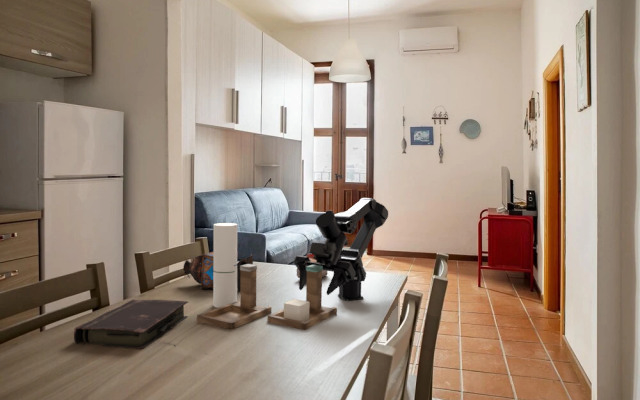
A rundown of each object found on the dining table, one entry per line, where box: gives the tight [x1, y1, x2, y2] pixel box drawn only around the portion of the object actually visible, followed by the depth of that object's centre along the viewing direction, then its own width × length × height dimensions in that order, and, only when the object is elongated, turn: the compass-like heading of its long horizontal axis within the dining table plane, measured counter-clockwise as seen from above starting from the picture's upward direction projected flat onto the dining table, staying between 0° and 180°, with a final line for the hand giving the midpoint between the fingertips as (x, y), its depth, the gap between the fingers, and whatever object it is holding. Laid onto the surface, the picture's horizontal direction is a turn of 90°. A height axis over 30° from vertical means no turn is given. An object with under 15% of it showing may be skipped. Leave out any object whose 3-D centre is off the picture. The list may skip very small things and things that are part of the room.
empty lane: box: [196, 264, 272, 330], centre depth 133 cm, size 17×12×14 cm
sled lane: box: [266, 265, 338, 331], centre depth 133 cm, size 17×12×14 cm
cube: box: [283, 298, 310, 322], centre depth 131 cm, size 5×5×5 cm
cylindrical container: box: [212, 222, 238, 309], centre depth 147 cm, size 7×7×25 cm
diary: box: [73, 299, 189, 350], centre depth 125 cm, size 19×25×5 cm
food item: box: [296, 252, 329, 279], centre depth 185 cm, size 14×8×10 cm, turn 153°
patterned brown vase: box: [182, 251, 254, 293], centre depth 170 cm, size 16×16×25 cm
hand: (313, 291), depth 138 cm, fingers open, 9 cm apart
